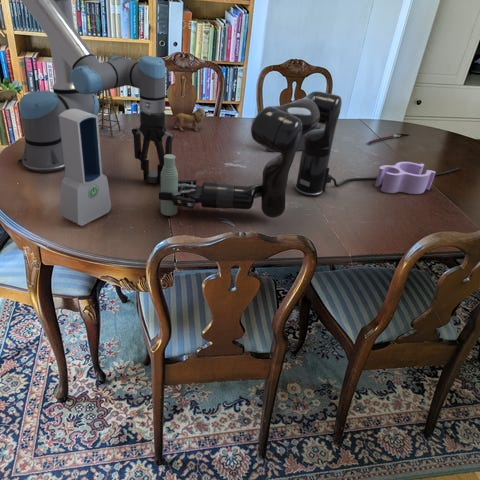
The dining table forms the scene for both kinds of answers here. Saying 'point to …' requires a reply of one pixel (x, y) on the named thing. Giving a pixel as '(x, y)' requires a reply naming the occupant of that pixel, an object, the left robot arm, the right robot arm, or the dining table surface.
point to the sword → (386, 138)
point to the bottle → (169, 184)
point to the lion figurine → (189, 118)
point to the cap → (152, 177)
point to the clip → (404, 178)
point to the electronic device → (82, 168)
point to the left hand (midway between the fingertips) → (153, 180)
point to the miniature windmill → (107, 108)
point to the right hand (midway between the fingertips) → (160, 191)
